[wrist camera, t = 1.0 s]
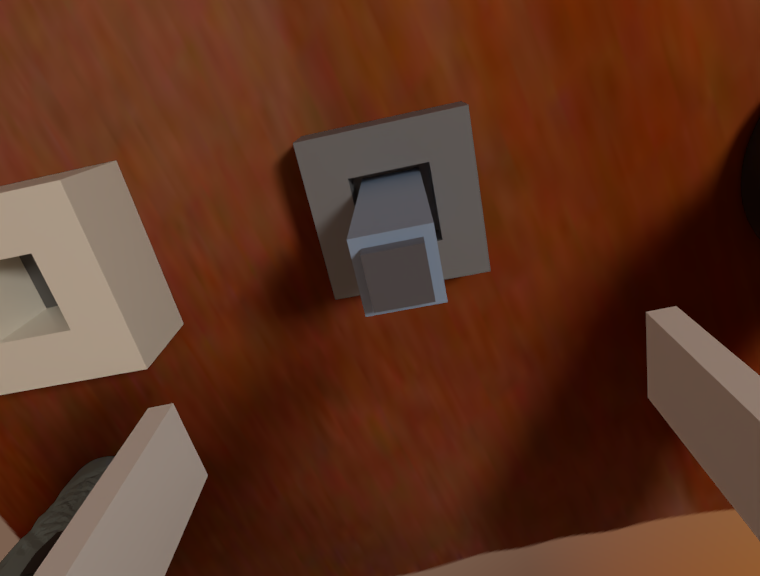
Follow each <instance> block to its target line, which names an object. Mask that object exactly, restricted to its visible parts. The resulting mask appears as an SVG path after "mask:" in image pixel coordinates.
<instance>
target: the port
mask: <svg viewBox="0 0 760 576" xmlns="http://www.w3.org/2000/svg"><path fill="white" fill-rule="evenodd" d="M182 325H183V321H182V319H181V316H180V314H179V311H178V309H177V307H176V304H175V302H174V299H173V297H172V294H171V292H170V290H169V287H168V285H167V282H166V280H165V277H164V275H163V273H162V270H161V268H160V265H159V263H158V261H157V258H156V256H155V253H154V251H153V248H152V246H151V244H150V241H149V239H148V236H147V234H146V231H145V229H144V227H143V224H142V222H141V219H140V217H139V214H138V212H137V210H136V207H135V205H134V202H133V200H132V197H131V195H130V193H129V190H128V188H127V185H126V183H125V181H124V178H123V176H122V173H121V171H120V168H119V166H118V164H117V161H111V162H107V163H102V164H98V165H93V166H89V167H85V168H80V169H76V170H71V171H67V172H62V173H58V174H53V175H49V176H44V177H40V178H35V179H31V180H26V181H22V182H18V183H13V184H9V185H4V186H0V395H4V394H9V393H15V392H20V391H26V390H32V389H37V388H43V387H49V386H54V385H60V384H66V383H71V382H77V381H83V380H88V379H94V378H99V377H105V376H111V375H116V374H122V373H128V372H133V371H139V370H145V369H148V368H149V366H150V365H151V364H152V363H153V361H154V360H155V359H156V358H157V356H158V355H159V354H160V353H161V351H162V350H163V349H164V348H165V346H166V345H167V344H168V343H169V341H170V340H171V339H172V338H173V337H174V335H175V334H176V333H177V332H178V330H179V329H180V328H181V327H182Z"/></svg>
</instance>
